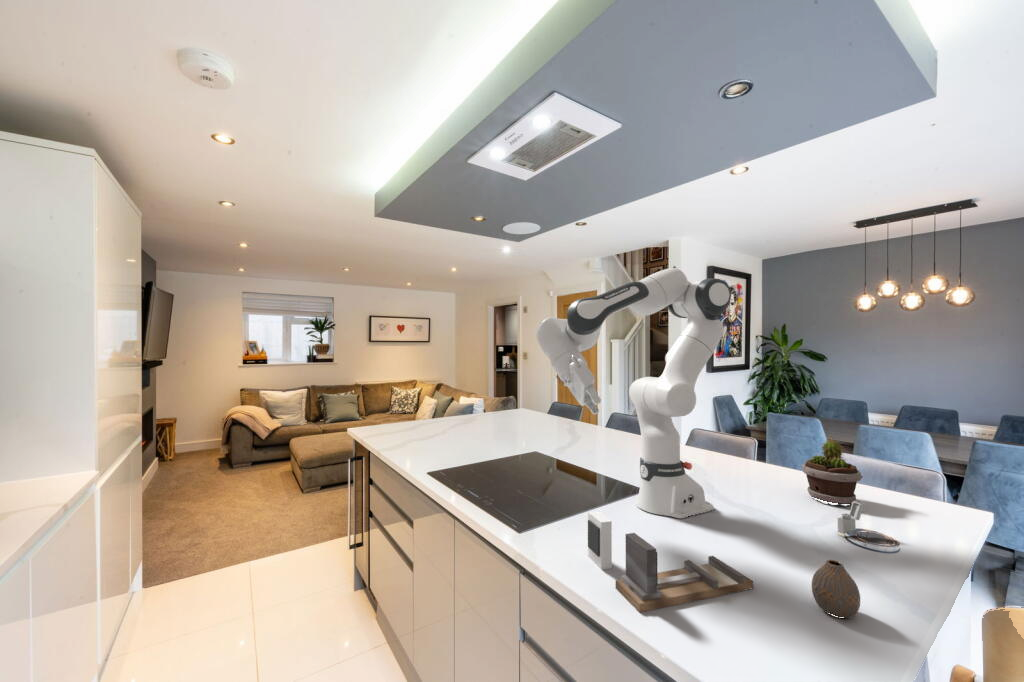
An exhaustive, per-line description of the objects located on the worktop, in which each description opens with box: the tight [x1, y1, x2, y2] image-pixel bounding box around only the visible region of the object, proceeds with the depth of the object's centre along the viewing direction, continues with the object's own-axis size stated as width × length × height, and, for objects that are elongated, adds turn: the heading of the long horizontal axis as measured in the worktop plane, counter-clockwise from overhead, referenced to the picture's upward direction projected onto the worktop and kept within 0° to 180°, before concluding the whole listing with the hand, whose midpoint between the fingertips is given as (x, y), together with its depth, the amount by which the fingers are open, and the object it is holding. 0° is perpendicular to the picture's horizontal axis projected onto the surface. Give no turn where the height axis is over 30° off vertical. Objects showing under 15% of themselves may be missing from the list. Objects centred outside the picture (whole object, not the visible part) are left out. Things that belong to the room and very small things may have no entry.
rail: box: [615, 532, 754, 613], centre depth 81 cm, size 26×8×10 cm, turn 107°
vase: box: [811, 559, 861, 619], centre depth 74 cm, size 7×7×9 cm
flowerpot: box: [801, 437, 863, 505], centre depth 130 cm, size 14×15×20 cm
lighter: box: [837, 501, 864, 534], centre depth 106 cm, size 7×2×8 cm, turn 107°
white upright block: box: [587, 510, 613, 571], centre depth 91 cm, size 3×6×10 cm, turn 17°
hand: (597, 408), depth 110 cm, fingers open, 8 cm apart
